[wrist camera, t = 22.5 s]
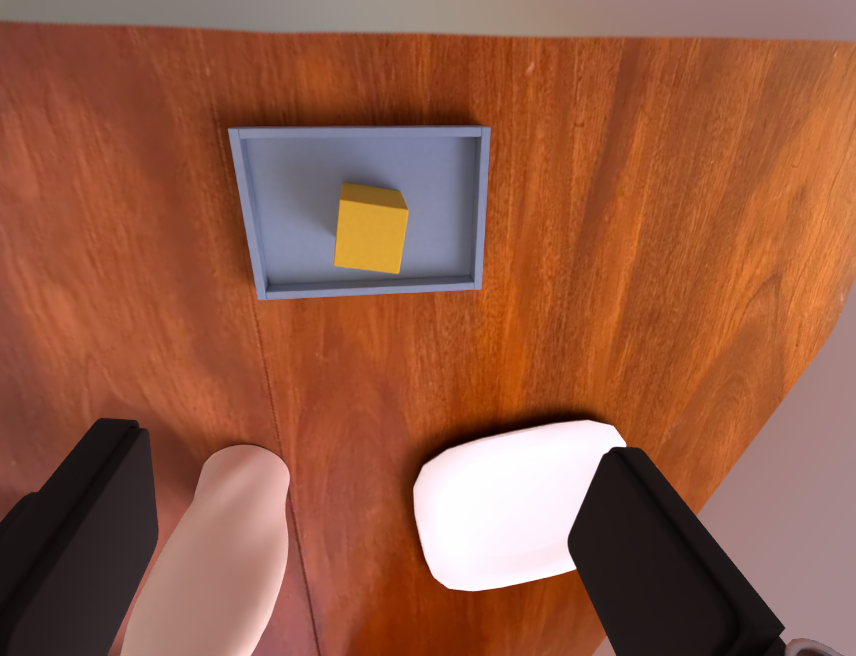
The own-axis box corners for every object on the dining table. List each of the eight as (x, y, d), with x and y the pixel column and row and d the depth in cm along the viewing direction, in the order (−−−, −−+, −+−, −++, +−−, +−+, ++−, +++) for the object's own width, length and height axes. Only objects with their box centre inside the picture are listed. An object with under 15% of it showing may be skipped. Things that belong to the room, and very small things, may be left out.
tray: (262, 290, 35) (257, 300, 33) (235, 126, 30) (227, 128, 28) (475, 280, 36) (481, 289, 35) (483, 124, 31) (490, 126, 30)
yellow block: (337, 239, 33) (333, 266, 28) (342, 181, 31) (339, 199, 26) (392, 246, 34) (399, 274, 29) (401, 190, 32) (409, 209, 27)
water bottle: (306, 517, 45) (242, 1028, 20) (210, 528, 44) (20, 1080, 19) (290, 434, 41) (183, 965, 16) (183, 444, 40) (-112, 1028, 15)
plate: (616, 548, 54) (623, 561, 52) (432, 589, 53) (435, 604, 51) (624, 397, 44) (634, 408, 42) (399, 444, 43) (400, 457, 41)
